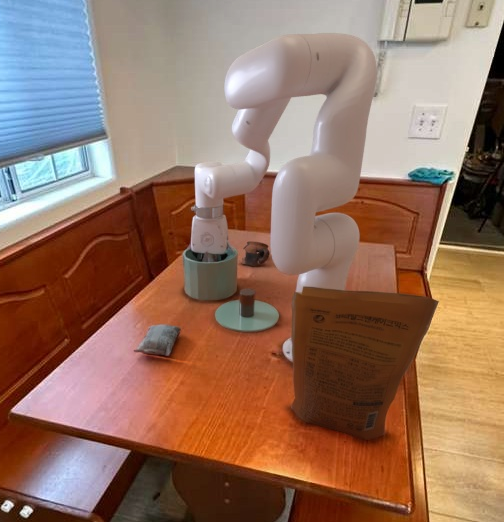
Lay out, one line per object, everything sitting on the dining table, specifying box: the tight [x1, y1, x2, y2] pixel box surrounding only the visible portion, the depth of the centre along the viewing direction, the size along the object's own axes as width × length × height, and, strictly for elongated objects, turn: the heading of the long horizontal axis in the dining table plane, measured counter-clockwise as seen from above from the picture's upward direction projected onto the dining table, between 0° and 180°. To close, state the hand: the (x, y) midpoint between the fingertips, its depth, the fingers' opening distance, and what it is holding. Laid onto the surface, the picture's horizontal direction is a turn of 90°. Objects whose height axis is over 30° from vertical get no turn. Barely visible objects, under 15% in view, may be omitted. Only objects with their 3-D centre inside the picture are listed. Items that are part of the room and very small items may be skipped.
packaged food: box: [133, 324, 182, 357], centre depth 96 cm, size 9×12×5 cm
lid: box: [214, 288, 280, 333], centre depth 105 cm, size 17×17×8 cm
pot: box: [182, 246, 239, 301], centre depth 119 cm, size 16×16×12 cm
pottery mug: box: [241, 241, 271, 267], centre depth 137 cm, size 12×10×8 cm
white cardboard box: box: [202, 252, 217, 262], centre depth 118 cm, size 4×7×10 cm, turn 153°
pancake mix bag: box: [290, 286, 440, 441], centre depth 65 cm, size 7×19×28 cm, turn 62°
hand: (210, 272), depth 119 cm, fingers closed on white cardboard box, 4 cm apart
